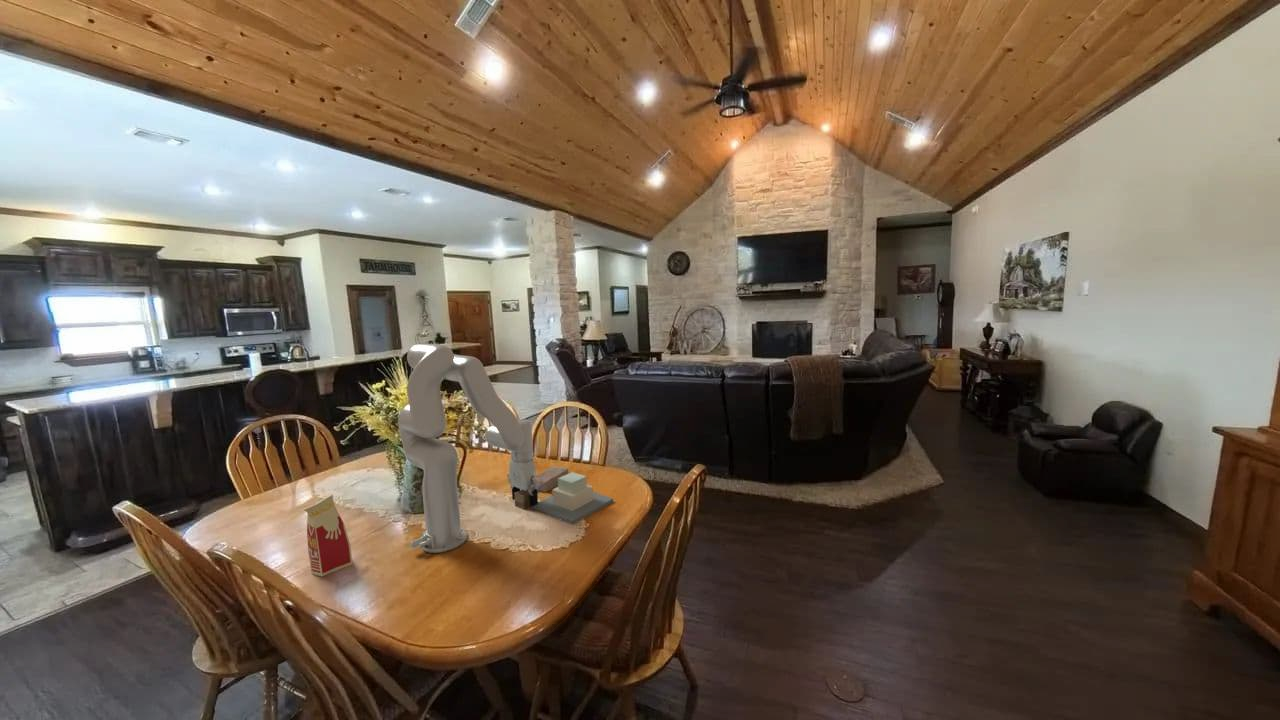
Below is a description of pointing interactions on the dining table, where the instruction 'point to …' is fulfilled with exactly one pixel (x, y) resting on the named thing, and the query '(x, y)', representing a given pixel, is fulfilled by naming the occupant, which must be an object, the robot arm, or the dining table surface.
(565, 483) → the green block
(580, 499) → the foundation
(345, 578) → the dining table surface
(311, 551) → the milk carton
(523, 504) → the walnut cube
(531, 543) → the dining table surface
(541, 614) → the dining table surface
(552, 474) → the brick
